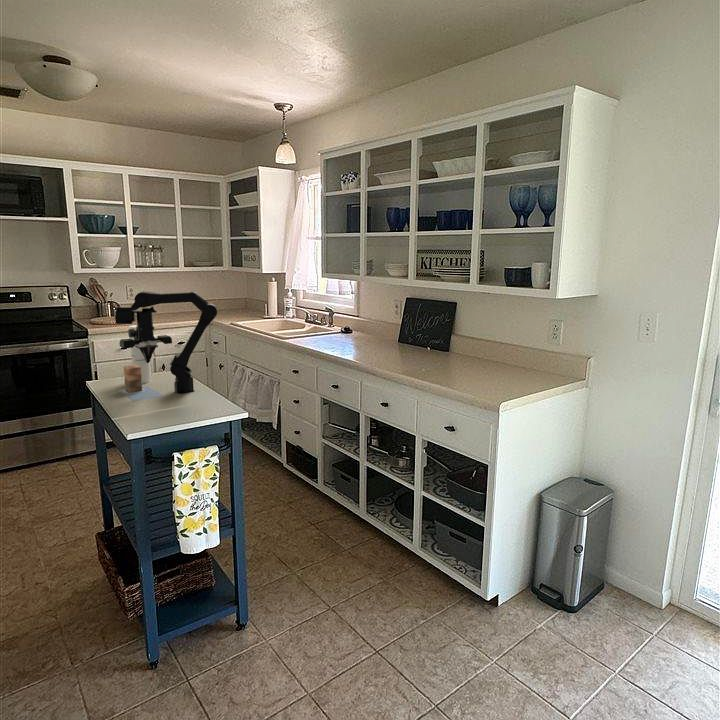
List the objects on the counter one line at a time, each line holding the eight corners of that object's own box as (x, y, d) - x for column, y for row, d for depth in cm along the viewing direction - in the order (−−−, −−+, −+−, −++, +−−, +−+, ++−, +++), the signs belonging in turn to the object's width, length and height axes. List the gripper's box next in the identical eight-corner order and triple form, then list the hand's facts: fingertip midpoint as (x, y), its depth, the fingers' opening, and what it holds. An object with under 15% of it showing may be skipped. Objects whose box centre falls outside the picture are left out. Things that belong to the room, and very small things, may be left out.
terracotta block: (137, 376, 217) (136, 364, 216) (141, 379, 213) (140, 367, 212) (124, 378, 213) (123, 366, 212) (128, 380, 210) (127, 368, 209)
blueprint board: (147, 387, 222) (147, 385, 222) (165, 397, 208) (164, 395, 208) (117, 392, 214) (117, 390, 214) (133, 402, 200) (133, 400, 200)
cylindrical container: (143, 380, 234) (139, 324, 229) (154, 382, 231) (151, 325, 226) (129, 383, 228) (125, 326, 222) (141, 385, 224) (137, 327, 219)
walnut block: (137, 388, 218) (137, 376, 217) (142, 390, 214) (141, 379, 213) (125, 390, 215) (124, 378, 213) (129, 393, 211) (128, 380, 210)
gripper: (160, 319, 218) (163, 356, 221) (113, 323, 206) (116, 362, 209) (171, 323, 210) (173, 361, 213) (122, 326, 198) (126, 367, 201)
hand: (147, 362), depth 209 cm, fingers closed
